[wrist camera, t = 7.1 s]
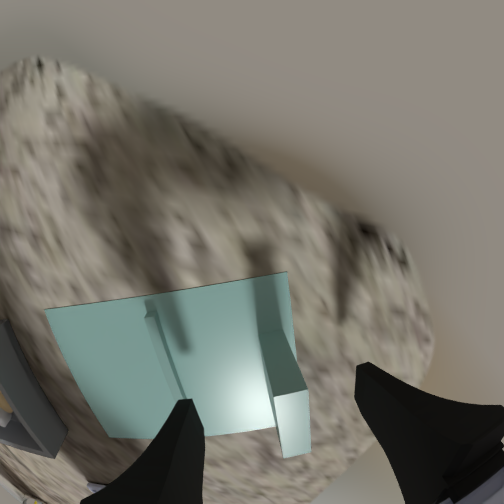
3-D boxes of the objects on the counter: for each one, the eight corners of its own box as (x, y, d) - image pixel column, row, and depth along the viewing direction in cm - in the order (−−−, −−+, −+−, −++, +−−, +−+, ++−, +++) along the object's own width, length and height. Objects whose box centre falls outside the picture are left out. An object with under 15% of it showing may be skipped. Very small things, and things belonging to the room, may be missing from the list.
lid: (299, 415, 15) (321, 477, 10) (111, 432, 15) (92, 487, 10) (284, 268, 13) (318, 315, 8) (48, 306, 12) (-4, 350, 7)
